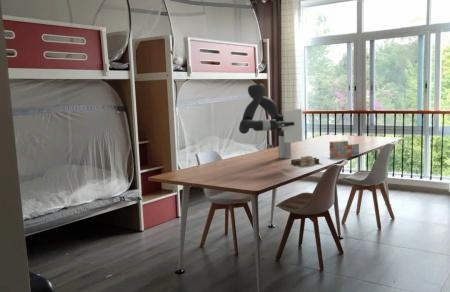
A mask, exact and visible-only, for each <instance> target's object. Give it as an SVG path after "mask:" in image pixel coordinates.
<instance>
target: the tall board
mask: <svg viewBox="0 0 450 292" xmlns="http://www.w3.org/2000/svg"><path fill="white" fill-rule="evenodd" d="M302 114H303V112H302V109H301V108H296V109H295V108H294V109H293V108H291V109H290V108H289V109H282V115H283V122H294V125H291V126H286V127H283V130H284V142H285V143H286V142H291V143H298V142H303V119H302V117H303V116H302ZM286 125H287V123H286Z"/></svg>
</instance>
